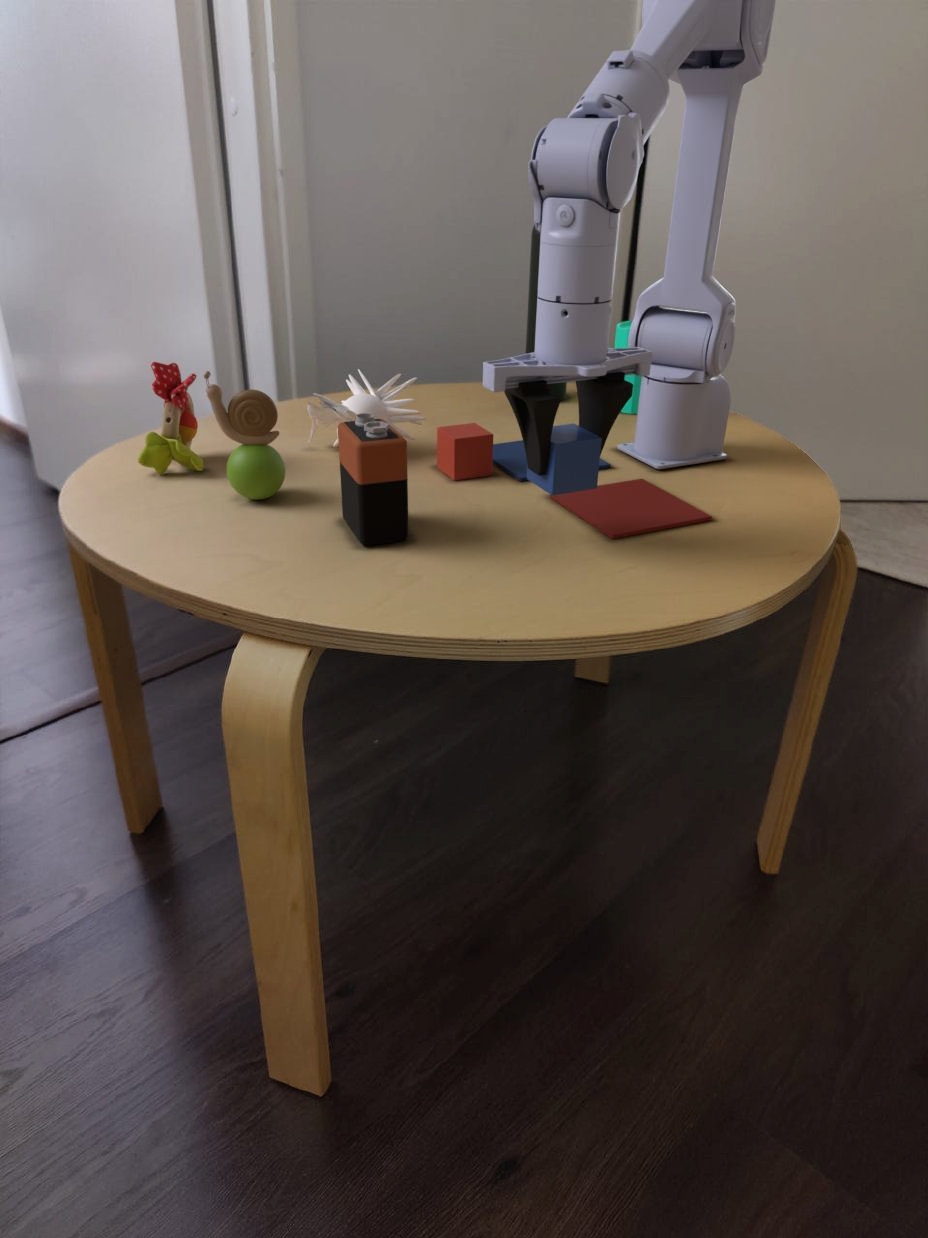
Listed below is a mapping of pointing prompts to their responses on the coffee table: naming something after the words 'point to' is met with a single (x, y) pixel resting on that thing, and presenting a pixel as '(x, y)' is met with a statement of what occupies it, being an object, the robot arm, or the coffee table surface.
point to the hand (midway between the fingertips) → (562, 467)
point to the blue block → (570, 461)
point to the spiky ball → (365, 407)
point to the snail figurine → (250, 441)
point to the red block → (464, 451)
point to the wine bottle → (555, 388)
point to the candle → (633, 402)
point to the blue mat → (518, 459)
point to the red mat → (630, 508)
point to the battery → (373, 480)
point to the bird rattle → (172, 422)
